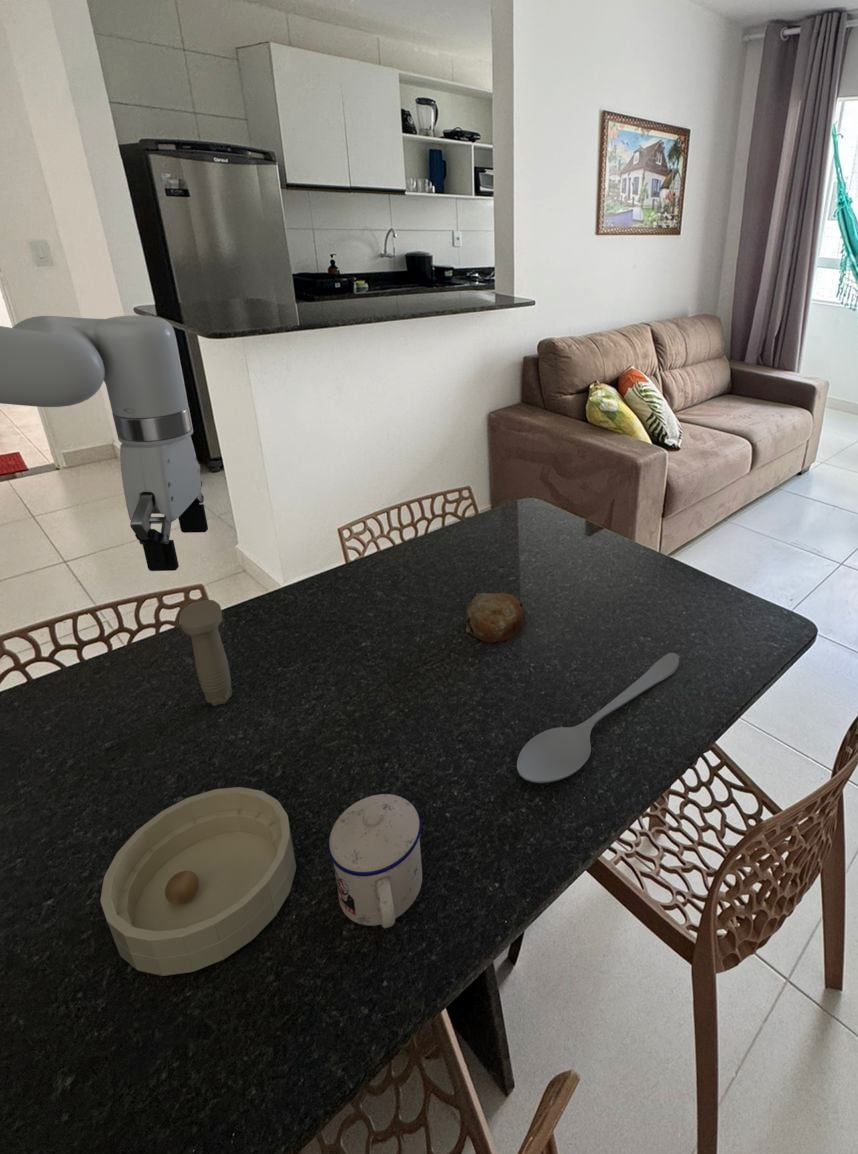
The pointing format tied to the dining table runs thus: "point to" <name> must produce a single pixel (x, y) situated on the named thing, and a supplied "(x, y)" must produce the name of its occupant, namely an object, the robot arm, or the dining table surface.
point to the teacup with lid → (377, 859)
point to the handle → (208, 649)
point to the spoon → (580, 733)
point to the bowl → (200, 880)
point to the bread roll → (494, 617)
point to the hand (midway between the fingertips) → (180, 549)
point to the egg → (181, 887)
